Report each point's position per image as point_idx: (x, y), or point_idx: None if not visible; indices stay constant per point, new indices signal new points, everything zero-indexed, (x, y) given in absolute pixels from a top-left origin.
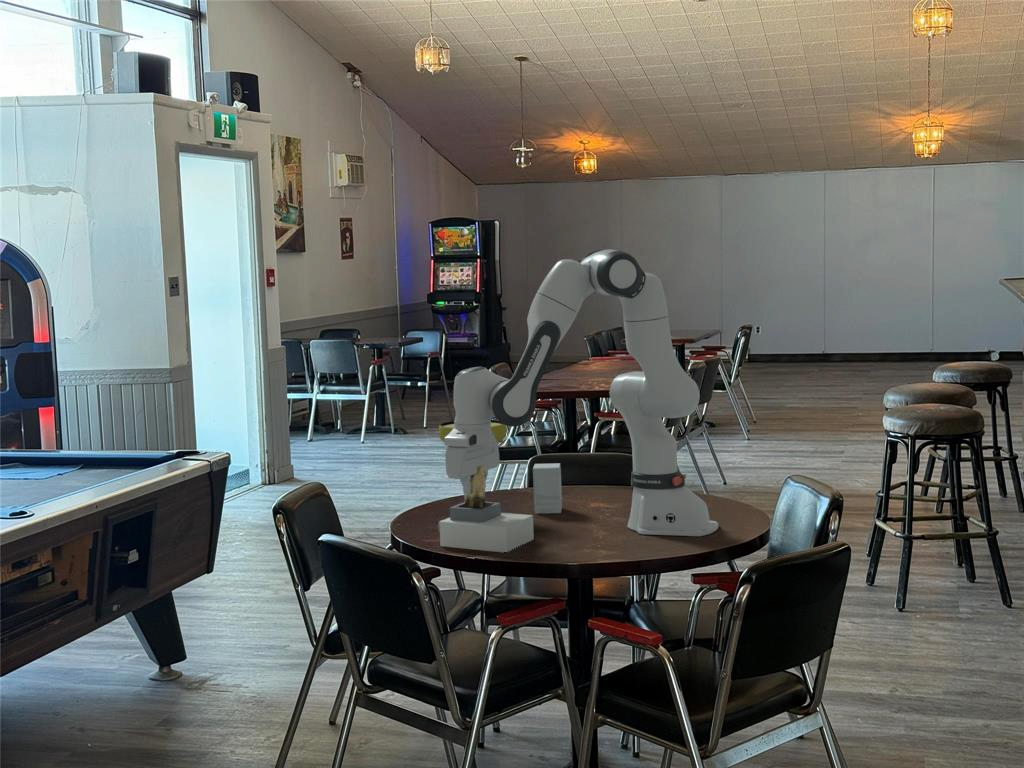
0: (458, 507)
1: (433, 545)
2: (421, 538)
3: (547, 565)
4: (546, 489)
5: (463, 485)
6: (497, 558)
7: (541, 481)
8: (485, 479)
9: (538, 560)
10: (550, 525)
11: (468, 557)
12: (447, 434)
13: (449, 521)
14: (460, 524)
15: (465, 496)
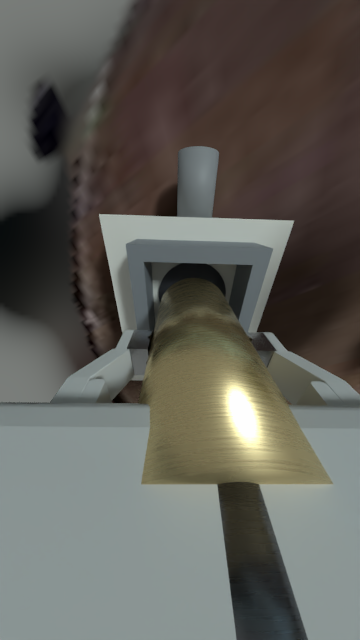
0: (141, 276)
1: (121, 190)
2: (177, 79)
3: (114, 398)
4: None
5: (106, 358)
6: (108, 349)
7: None
8: (278, 386)
9: (127, 387)
10: (329, 338)
11: (87, 313)
12: None
13: (116, 248)
14: (114, 290)
15: (162, 309)
